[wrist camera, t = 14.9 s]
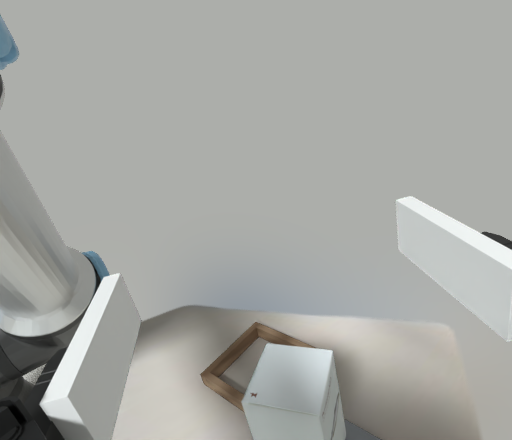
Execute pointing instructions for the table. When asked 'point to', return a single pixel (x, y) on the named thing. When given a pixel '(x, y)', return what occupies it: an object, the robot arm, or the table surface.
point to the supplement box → (294, 395)
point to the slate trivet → (357, 432)
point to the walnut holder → (234, 352)
